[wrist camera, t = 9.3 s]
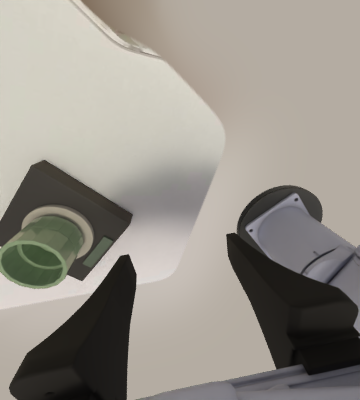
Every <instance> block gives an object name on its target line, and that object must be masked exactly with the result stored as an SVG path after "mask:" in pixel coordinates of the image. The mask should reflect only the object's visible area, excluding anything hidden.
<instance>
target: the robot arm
mask: <svg viewBox="0 0 360 400" xmlns="http://www.w3.org/2000/svg"><path fill="white" fill-rule="evenodd" d="M295 199H296V200H295ZM250 229H252V230H250ZM245 230H246V231H247V232H248V233H249V234H250V236H251V237H252V238H253V239H254V241H255V242H256V243H257V244H258V245H259V247H260V248H261V249H262V250H263V251H264V253H265V254H266V255H267V256H268V257H267V256H265V255H264V254H262V253H261V252H259V251H258V250H256V249H255V248H254V247H252V246H251V245H250V244H248V243H247V242H246V241H244V240H243V239H242V238H241V237H239V236H238V235H237V234H235V233H231V234H227V235H226V236H227V249H228V257H229V260H230V262H231V265H232V267H233V270H234V272H235V273H236V275H237V277H238V279H239V281H240V283H241V285H242V287H243V289H244V290H245V292H246V294H247V296H248V298H249V300H250V302H251V305H252V307H253V310H254V312H255V314H256V317H257V319H258V322H259V324H260V327H261V329H262V332H263V334H264V337H265V340H266V342H267V345H268V348H269V350H270V353H271V355H272V358H273V361H274V364H275V366H276V369H277V370H272V371H267V372H263V373H258V374H254V375H249V376H244V377H239V378H235V379H230V380H225V381H217V382H209V383H205V384H200V385H195V386H190V387H186V388H181V389H176V390H172V391H167V392H163V393H160V394H157V395H154V396H151V397H146V398H141V399H136V400H360V245H359V246H358V247H357V248H356V247H355V246H353V245H352V244H350V243H349V242H347V241H346V240H345V239H343V238H342V237H340V236H339V235H337V234H336V233H334V232H333V231H332V230H330V229H328V228H327V227H325V226H324V225H323V224H321V223H320V222H319V221H317V220H316V219H314V218H313V217H311V216H310V215H309V213H308V211H307V209H306V208H305V206H304V204H303V202H302V201H301V199H300V197H299V195H298V194H297V193H292V194H290V195H289V196H287V197H286V198H284V199H283V200H282V201H280V202H279V203H277V204H276V205H274V206H273V207H272V208H270V209H269V210H267V211H266V212H264V213H263V214H261V215H260V216H259V217H257V218H256V219H254V220H253V221H251V222H250V223H249V224H247V225H246V226H245ZM249 230H250V231H249ZM136 275H137V274H136V272H135V269H134V267H133V264H132V261H131V259H130V256H129V254H127V255H122V256H120V257H119V259H118V260H117V261H116V263H115V264H114V266H113V267H112V269H111V270H110V272H109V273H108V274H107V276H106V277H105V279H104V280H103V281H102V283H101V284H100V285H99V287H98V288H97V289H96V290H95V292H94V293H93V294H92V295H91V296H90V298H89V299H88V300H87V301H86V302H85V303H84V304H83V305H82V306H81V308H79V309H78V310H77V311H76V312H75V313H74V315H72V316H71V317H70V318H69V319H68V320H67V321H66V322H65V323H64V324H63V325H62V326H60V327H59V328H58V329H57V330H56V331H55V332H54V333H52V334H51V335H50V336H49V337H48V338H46V339H45V340H44V341H42V342H41V343H40V344H39V345H37V346H36V347H35V348H33V349H32V350H31V351H29V352H28V353H27V355H26V356H25V358H24V360H23V362H22V364H21V366H20V367H19V369H18V371H17V373H16V374H15V376H14V378H13V380H12V382H11V384H10V387H9V389H10V393H11V394H12V395H13V396H14V397H15V398H16V399H17V400H126V399H127V362H128V344H129V330H130V321H131V315H132V309H133V304H134V298H135V291H136Z"/></svg>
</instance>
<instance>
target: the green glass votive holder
mask: <svg viewBox="0 0 360 400" xmlns="http://www.w3.org/2000/svg"><path fill="white" fill-rule="evenodd" d="M82 246H83V238H82V234H81V232H80V231H79V229H78V228H77V227H76V226H75V225H74V224H73V223H71V222H70V221H68V220H66V219H63V218H59V217H56V216H43V217H40V218H37V219H34V220H33V221H31V222H30V223H29V224H28V225H27V226H26V227H24V228H23V229H22V230H21V231H20V232H19V233H17V234H16V235H15V236H14V237H13V238H12V239H10V240H9V241H8V242H7V243H6V244H5V245H4V246H3V247H2V248H1V249H0V272H1V273H2V274H3V275H4V276H5V277H6V278H7V279H9V280H10V281H12V282H14V283H16V284H18V285H21V286H24V287H28V288H34V289H41V288H49V287H52V286H56V285H58V284H59V283H60V282H61V281H63V280H64V279H65V277H66V276H67V274H68V272H69V270H70V269H71V267H72V265H73V263H74V261H75V260H76V258H77V256H78V254H79V253H80V251H81V248H82Z"/></svg>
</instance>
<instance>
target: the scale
mask: <svg viewBox="0 0 360 400" xmlns="http://www.w3.org/2000/svg"><path fill="white" fill-rule="evenodd" d="M43 216H56V217H59V218H63V219H66V220H68V221H70V222H71V223H73V224H74V225H75V226H76V227H77V228H78V229H79V231H80V232H81V234H82V238H83V246H82V248H81V251H80V253H79V254H78V256H77V258H76V260H75V261H74V263H73V265H72V267H71V269H70V270H69V272H68V274H67V275H69V276H71V277H74V278H76V279H78V280H81V281H83V280H84V279H85V277H86V276H87V275H88V274H89V273H90V271H91V270H92V269H93V268H94V267H95V265H96V264H97V263H98V262H99V261H100V259H101V258H102V257H103V256H104V255H105V254H106V252H107V251H108V250H109V249H110V248H111V246H112V245H113V244H114V243H115V242H116V240H117V239H118V238H119V237H120V236H121V234H122V233H123V232H124V231H125V230H126V228H127V227H128V226H129V225H130V223H131V219H132V214H131V213H129V212H127V211H126V210H124V209H122V208H121V207H119V206H118V205H116V204H114V203H113V202H111V201H109V200H108V199H106V198H105V197H103V196H101V195H100V194H98V193H97V192H95V191H93V190H92V189H90V188H88V187H87V186H85V185H84V184H82V183H80V182H79V181H77V180H76V179H74V178H72V177H71V176H69V175H67V174H66V173H64V172H63V171H61V170H59V169H58V168H56V167H55V166H53V165H51V164H50V163H48V162H46V161H45V160H43V161H41V162H39V163H36V164H34V165H32V166H31V167H30V169H29V171H28V173H27V174H26V176H25V178H24V180H23V182H22V183H21V185H20V187H19V189H18V190H17V192H16V194H15V196H14V198H13V199H12V201H11V203H10V205H9V207H8V208H7V210H6V212H5V214H4V215H3V217H2V219H1V221H0V246H1V247H3V246H4V245H5V244H6V243H7V242H8V241H9V240H10V239H12V238H13V237H14V236H15V235H16V234H17V233H19V232H20V231H21V230H22V229H23V228H24V227H26V226H27V225H28V224H29V223H30V222H31V221H33V220H34V219H37V218H40V217H43Z"/></svg>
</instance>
